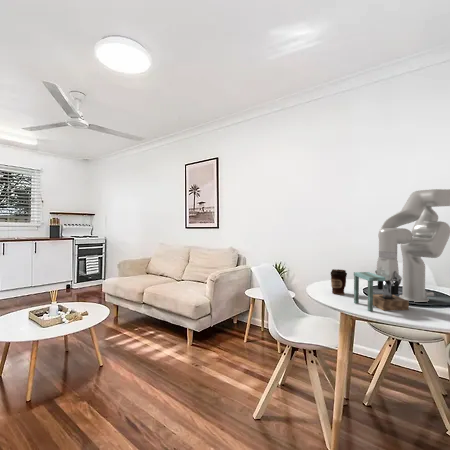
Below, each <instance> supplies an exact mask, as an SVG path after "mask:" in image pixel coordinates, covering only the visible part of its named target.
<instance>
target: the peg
mask: <svg viewBox="0 0 450 450" xmlns="http://www.w3.org/2000/svg"><path fill="white" fill-rule="evenodd" d="M391 286H392V284H391V282H390V281H386V280H385V281H383V289H382V294H383V299H386V300H387V299H393V295H392V294H391Z"/></svg>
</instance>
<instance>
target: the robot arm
mask: <svg viewBox="0 0 450 450" xmlns="http://www.w3.org/2000/svg"><path fill="white" fill-rule="evenodd" d="M434 207H436V208H437V207H450V189H449V188H448V189H445V188H444V189H442V188H439V189H437V188H436V189H433V188H432V189H423V190H420V189H419V190H415V191H413V192H412V193H411V194H410V195H409V197H408V198H407V200H406V202H405V203H404V205H403V207H402V209H401V210H400V211H397V212H396V213H395V214H393V215H391V216H390V217H388V218H387V219H386V220H385V221H384V222H383V224H382V225H381V226H380V229H379V231H378V257H377V262H376V270H375V274H376V275H379V276H383V277H385V280H386V281H390V282H391V284H392V286H391V294H392V295H395V296H397V295H398V297H400V298H402V299H405V300H408V301H414V302H413V303H415V302H427V303H429V302H428V301H430V299H429V298H428V297H435V293H434V292H433V291H432V292H431V291H430V292H428V291H426V264H425V262H424V260H423V259H422V258H428V259H436V258H437V259H438V258H439V257H441V255H442V254H443V252H444V250H445V248H446V245H447V244H448V241H449V239H450V225H449V223H447V222H445V221H441V220H440V221H439V215H438V214H437V212H436V211H435V210H434V209H433V208H434ZM414 222H415V223H414ZM411 223H414V224H413V226H412V229H411V230H410V229H408V228H403V227H402V226H405V225H408V224H411ZM399 227H402V228H399ZM398 245H400V251H401V257H402V276H401V275H400V273H399V263H398ZM401 282H402V294H399V286H400V284H401ZM377 290H383V281H377Z"/></svg>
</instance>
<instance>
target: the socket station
mask: <svg viewBox="0 0 450 450" xmlns="http://www.w3.org/2000/svg"><path fill="white" fill-rule="evenodd" d="M360 279H363V280H366V281H367V311H368V312H374V307H375V308H378V309H380V310H381V311H409V310H410V309H409V308H410V302H409V301H408V300H405V299H402V298H400V297H399V296H397V295H393V299H387V300H386V299H383V293H382V294H381V293H380V294H378V293H377V294H374V282H378V281H385V277H383V276H379V275H376V273H372V272H371V271H357V272H356V271H355V272H353V303H354V304H355V305H358V304H359V302H360V301H359V300H360V299H359V296H360V294H359V293H360V292H359V291H360V288H359V286H360Z"/></svg>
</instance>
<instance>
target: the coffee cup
mask: <svg viewBox="0 0 450 450" xmlns="http://www.w3.org/2000/svg"><path fill="white" fill-rule="evenodd" d="M347 276H348V273H347V270H345V269H335V268H334V269H331V272H330V282H331V283H330V284H331V285H330V286H331V290H332V291H331V292H332V294H334V295H338V296H339V295H340V296H343V295H346V294H345V288H346V285H347Z"/></svg>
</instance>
